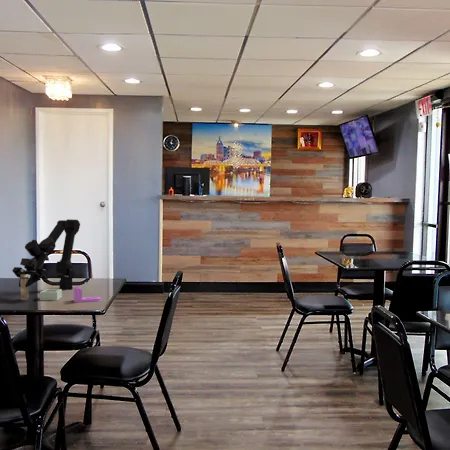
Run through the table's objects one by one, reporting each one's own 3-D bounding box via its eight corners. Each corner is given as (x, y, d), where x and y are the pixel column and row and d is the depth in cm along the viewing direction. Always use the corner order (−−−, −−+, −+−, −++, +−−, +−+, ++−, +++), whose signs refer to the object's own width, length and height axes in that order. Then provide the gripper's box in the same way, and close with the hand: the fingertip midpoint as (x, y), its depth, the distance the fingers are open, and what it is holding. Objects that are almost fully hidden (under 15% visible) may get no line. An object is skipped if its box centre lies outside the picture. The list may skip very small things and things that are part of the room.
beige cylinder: (28, 298, 255) (28, 273, 254) (28, 299, 251) (28, 274, 251) (20, 298, 254) (20, 274, 253) (20, 300, 250) (20, 275, 249)
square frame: (45, 296, 259) (45, 289, 259) (61, 297, 260) (61, 289, 259) (39, 300, 251) (39, 292, 251) (57, 300, 251) (57, 292, 251)
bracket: (74, 302, 247) (74, 288, 246) (73, 300, 252) (73, 286, 251) (101, 301, 250) (101, 287, 250) (100, 299, 256) (100, 285, 255)
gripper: (14, 251, 258) (-2, 275, 248) (45, 252, 252) (30, 278, 242) (25, 264, 266) (10, 289, 256) (55, 266, 260) (41, 291, 250)
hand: (22, 286), depth 251 cm, fingers closed on beige cylinder, 4 cm apart
